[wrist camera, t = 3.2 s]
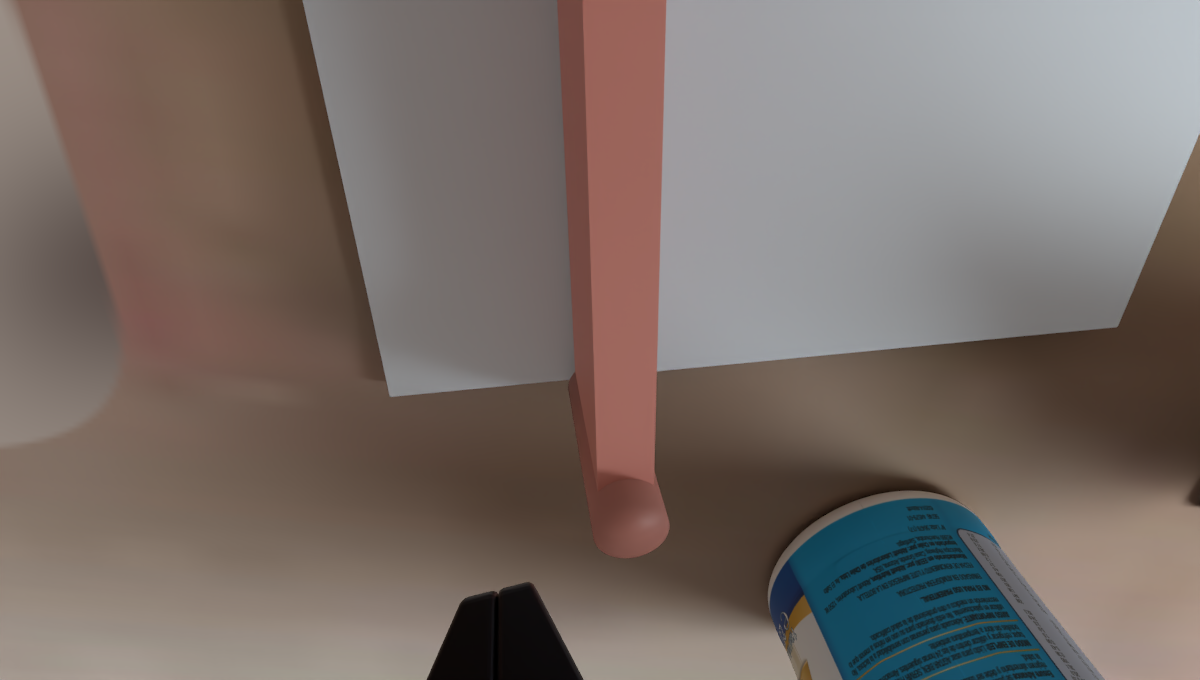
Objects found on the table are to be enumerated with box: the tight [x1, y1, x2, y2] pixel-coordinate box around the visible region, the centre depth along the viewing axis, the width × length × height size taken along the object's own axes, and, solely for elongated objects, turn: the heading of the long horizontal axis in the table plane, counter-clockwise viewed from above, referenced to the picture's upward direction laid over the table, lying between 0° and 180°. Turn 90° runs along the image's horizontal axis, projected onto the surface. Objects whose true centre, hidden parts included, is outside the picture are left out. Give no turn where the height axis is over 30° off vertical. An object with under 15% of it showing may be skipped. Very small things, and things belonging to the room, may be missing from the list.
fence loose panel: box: [557, 0, 670, 558], centre depth 14 cm, size 11×2×5 cm, turn 1°
